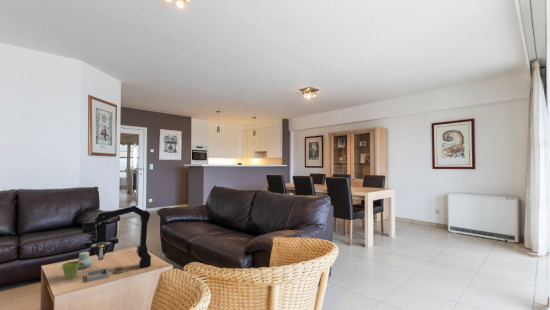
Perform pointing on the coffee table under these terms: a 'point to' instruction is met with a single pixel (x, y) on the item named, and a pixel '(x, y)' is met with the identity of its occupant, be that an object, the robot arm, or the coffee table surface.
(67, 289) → the coffee table surface
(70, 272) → the plant pot
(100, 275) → the tray
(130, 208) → the robot arm
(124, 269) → the tensioner block
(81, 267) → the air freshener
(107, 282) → the coffee table surface
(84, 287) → the coffee table surface
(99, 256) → the lock pin
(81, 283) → the coffee table surface
